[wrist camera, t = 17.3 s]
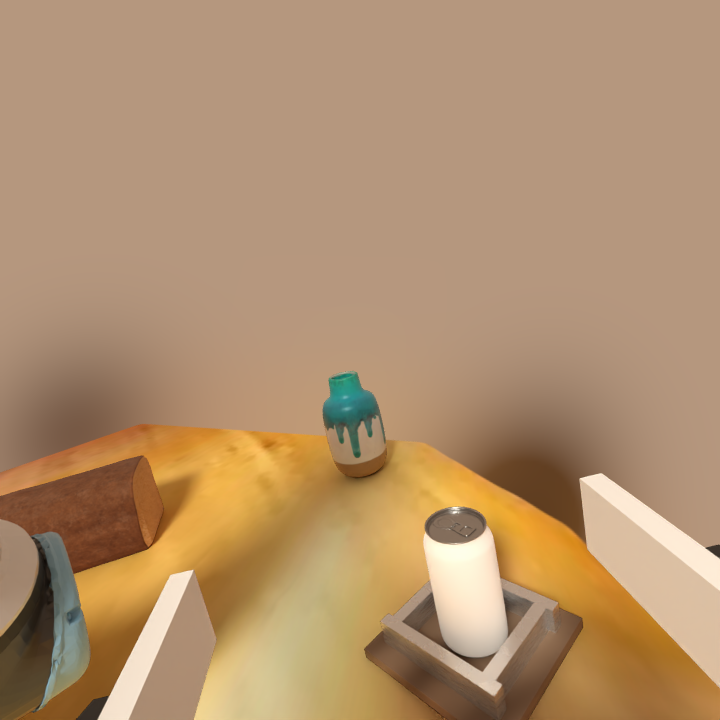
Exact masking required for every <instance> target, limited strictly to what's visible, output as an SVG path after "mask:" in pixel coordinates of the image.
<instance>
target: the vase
mask: <svg viewBox="0 0 720 720" xmlns="http://www.w3.org/2000/svg"><path fill="white" fill-rule="evenodd" d="M329 386H330V397H329V398H328V399H327V400H326V401H325V403H324V405H323V419H324V426H325V431H326V435H327V439H328V443H329V447H330V451H331V454H332V457H333V460H334V462H335V464H336V466H337V468H338V469H339V470H340V471H341V472H342V473H343V474H345V475H347V476H351V477H363V476H367V475H370V474H372V473H374V472H376V471H378V470H379V469H380V468H381V467H382V466H383V464H384V462H385V459H386V455H387V448H386V439H385V434H384V428H383V423H382V418H381V414H380V410H379V407H378V404H377V401H376V399H375V397H374V395H373V394H372V393H371V392H370V391H367V390H364V389H363V388H362V387H361V384H360V381H359V377H358V374H357V372H354V371H348V372H342V373H338V374H335V375H333V376H331V377H330V378H329Z"/></svg>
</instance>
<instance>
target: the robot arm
mask: <svg viewBox="0 0 720 720" xmlns="http://www.w3.org/2000/svg"><path fill="white" fill-rule="evenodd" d="M580 487H581V496H582V505H583V513H584V523H585V532H586V541H587V549H588V550H589V552H590V553H591V554H592V555H593V556H594V557H595V558H596V559H597V560H598V561H599V562H600V563H601V564H602V565H603V566H604V567H605V568H606V569H607V570H608V571H609V572H610V574H611V575H612V576H613V577H614V578H615V579H616V580H617V581H618V582H619V583H620V584H621V585H622V586H623V587H624V588H625V589H626V590H627V591H628V592H629V593H630V594H631V596H632V597H633V598H634V599H635V600H636V601H637V602H638V603H639V604H640V605H641V606H642V607H643V608H644V609H645V610H646V611H647V612H648V613H649V614H650V615H651V616H652V618H653V619H654V620H655V621H656V622H657V623H658V624H659V625H660V626H661V627H662V628H663V629H664V630H665V631H666V632H667V633H668V634H669V635H670V636H671V637H672V638H673V640H674V641H675V642H676V643H677V644H678V645H679V646H680V647H681V648H682V649H683V650H684V651H685V652H686V653H687V654H688V655H689V656H690V657H691V658H692V659H693V660H694V662H695V663H696V664H697V665H698V666H699V667H700V668H701V669H702V670H703V671H704V672H705V673H706V674H707V675H708V676H709V677H710V678H711V679H712V680H713V681H714V682H715V684H716V685H717V686H718V687H719V688H720V545H715V546H711V547H707V548H704V547H703V546H701V545H700V544H699V543H697V542H696V541H694V540H693V539H692V538H690V537H689V536H688V535H686V534H685V533H683V532H682V531H680V530H679V529H678V528H676V527H675V526H674V525H672V524H671V523H669V522H668V521H667V520H665V519H664V518H663V517H661V516H660V515H658V514H657V513H655V512H654V511H653V510H651V509H650V508H649V507H647V506H646V505H644V504H643V503H642V502H640V501H639V500H638V499H636V498H635V497H633V496H632V495H631V494H629V493H628V492H627V491H625V490H624V489H622V488H621V487H620V486H618V485H617V484H615V483H614V482H613V481H611V480H609V478H607V477H606V476H604V475H603V474H601V473H600V474H596V475H592V476H588V477H583V478H580ZM80 607H81V603H80V600H79V593H78V590H77V586H76V582H75V578H74V575H73V571H72V568H71V564H70V561H69V558H68V554H67V551H66V548H65V545H64V543H63V540H62V538H61V537H60V535H59V534H58V533H55V532H46V533H43V534H35V535H33V536H29V534H28V533H27V532H26V531H25V530H24V529H23V528H21V527H20V526H18V525H16V524H14V523H11V522H9V521H5V520H1V519H0V720H19V719H20V718H22V717H23V716H25V715H27V714H28V713H30V712H36V711H38V710H40V709H42V708H43V707H44V706H45V705H46V704H47V703H48V701H49V700H50V699H52V698H53V697H55V696H56V695H58V694H59V693H61V692H62V691H64V690H65V689H67V688H68V687H69V686H71V685H72V684H74V683H75V682H77V681H78V680H79V679H80V678H81V677H82V675H83V674H84V673H85V671H86V669H87V667H88V665H89V662H90V644H89V638H88V632H87V627H86V623H85V619H84V615H83V612H82V610H81V608H80ZM216 640H217V639H216V636H215V633H214V630H213V627H212V624H211V621H210V617H209V614H208V611H207V608H206V605H205V602H204V599H203V596H202V593H201V590H200V587H199V584H198V581H197V578H196V575H195V572H194V570H190V571H186V572H182V573H177V574H173V575H170V577H169V579H168V581H167V583H166V585H165V587H164V589H163V591H162V593H161V595H160V597H159V599H158V601H157V603H156V605H155V607H154V609H153V611H152V613H151V615H150V617H149V619H148V621H147V623H146V625H145V627H144V629H143V631H142V633H141V635H140V636H139V638H138V640H137V642H136V644H135V646H134V648H133V650H132V652H131V654H130V656H129V658H128V660H127V662H126V664H125V666H124V668H123V670H122V672H121V674H120V676H119V678H118V680H117V682H116V684H115V686H114V688H113V690H112V692H111V694H110V696H106V697H102V698H98V699H94V700H93V701H92V702H91V703H90V704H89V705H88V706H87V708H86V709H85V710H84V711H83V712H82V713H81V714H80V716H79V717H78V718H77V719H76V720H194V716H195V713H196V709H197V706H198V702H199V699H200V696H201V692H202V689H203V685H204V682H205V678H206V675H207V671H208V668H209V665H210V661H211V658H212V654H213V651H214V647H215V644H216Z"/></svg>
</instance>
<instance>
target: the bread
mask: <svg viewBox="0 0 720 720" xmlns="http://www.w3.org/2000/svg"><path fill="white" fill-rule="evenodd" d="M163 510H164V507H163V504H162V501H161V497H160V494H159V492H158V489H157V486H156V483H155V480H154V477H153V474H152V470H151V467H150V465H149V463H148V460H147V459H146V458H145V457H144V456H138V457H134V458H130V459H126V460H123V461H119V462H116V463H113V464H110V465H106V466H103V467H100V468H96V469H93V470H90V471H86V472H83V473H80V474H76V475H72V476H69V477H66V478H62V479H59V480H56V481H52V482H49V483H45V484H42V485H38V486H34V487H30V488H26V489H23V490H19V491H16V492H12V493H9V494H6V495H3V496H0V519H1V520H5V521H9V522H11V523H14V524H16V525H18V526H20V527H21V528H23V529H24V530H25V531H26V532H27V533H28V534H29V536H33V535H35V534H43V533H46V532H55V533H58V534H59V535H60V537H61V538H62V540H63V543H64V545H65V548H66V551H67V554H68V558H69V561H70V564H71V568H72V571H73V574H75V573H78V572H81V571H84V570H87V569H90V568H93V567H96V566H98V565H102V564H105V563H108V562H111V561H114V560H117V559H120V558H123V557H126V556H129V555H132V554H135V553H137V552H140V551H143V550H146V549H148V547H149V546H150V545H151V543H152V542H153V540H154V537H155V534H156V531H157V528H158V525H159V522H160V519H161V516H162V513H163Z"/></svg>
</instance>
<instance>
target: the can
mask: <svg viewBox="0 0 720 720" xmlns="http://www.w3.org/2000/svg"><path fill="white" fill-rule="evenodd" d="M425 531H426V532H425V535H424V540H423V543H424V550H425V556H426V561H427V566H428V571H429V576H430V581H431V586H432V591H433V596H434V601H435V606H436V611H437V616H438V621H439V626H440V630H441V634H442V637H443V640H444V641H445V643H446V644H447V646H448V647H449V648H451V649H452V650H453V651H455V652H456V653H458V654H460V655H462V656H465V657H469V658H484V657H488V656H490V655H492V654H494V653H496V652H497V651H498V650H499V649H500V648H501V646H502V645H503V644H504V642H505V641H506V640H507V637H508V624H507V617H506V611H505V604H504V598H503V592H502V586H501V579H500V573H499V567H498V561H497V555H496V549H495V543H494V538H493V535H492V532H491V530H490V529H489V527H488V526H487V525H486V519H485V517H484V516H483V515H482V514H481V513H480V512H478V511H476V510H474V509H471V508H467V507H449V508H445V509H442V510H439V511H437V512H435V513H434V514H432V515H431V516H430V517H429V518H428V519H427V521H426V523H425Z"/></svg>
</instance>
